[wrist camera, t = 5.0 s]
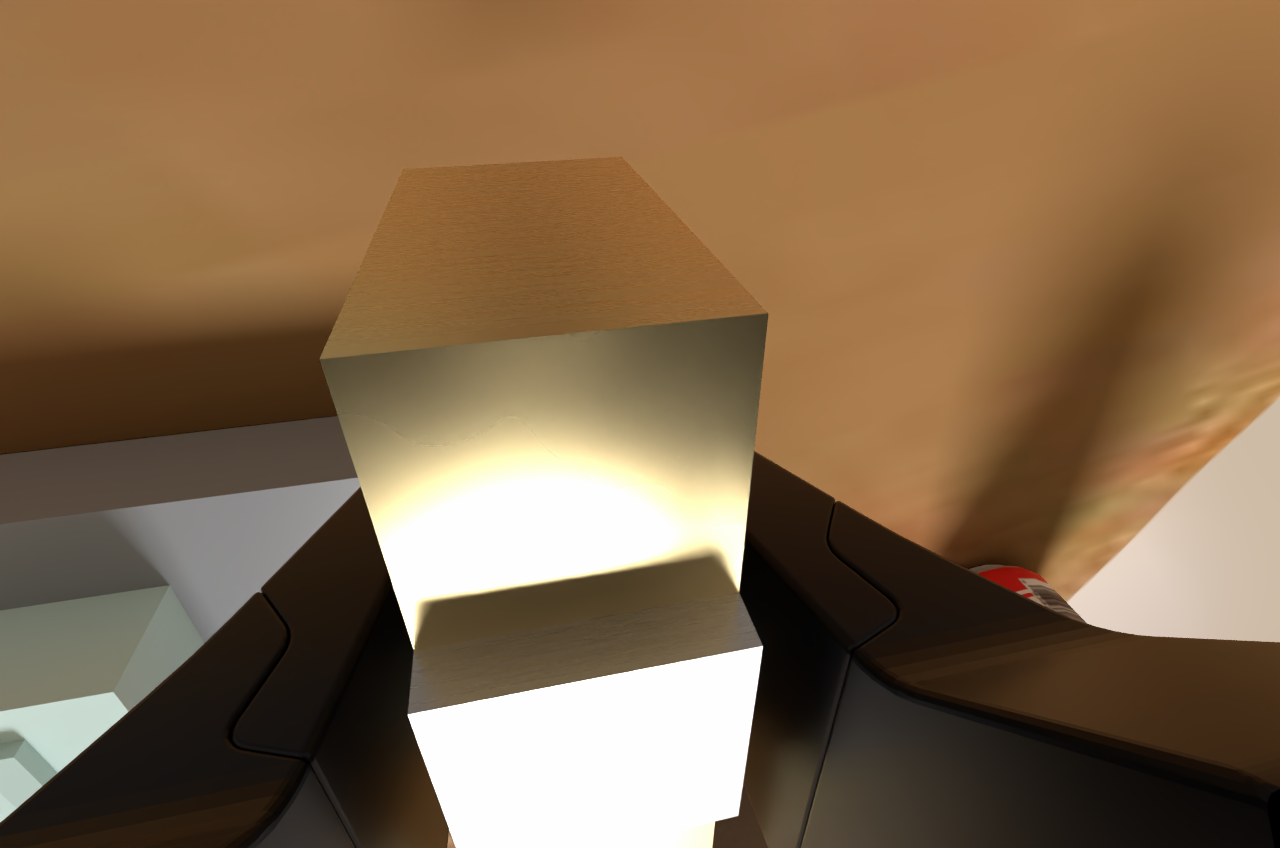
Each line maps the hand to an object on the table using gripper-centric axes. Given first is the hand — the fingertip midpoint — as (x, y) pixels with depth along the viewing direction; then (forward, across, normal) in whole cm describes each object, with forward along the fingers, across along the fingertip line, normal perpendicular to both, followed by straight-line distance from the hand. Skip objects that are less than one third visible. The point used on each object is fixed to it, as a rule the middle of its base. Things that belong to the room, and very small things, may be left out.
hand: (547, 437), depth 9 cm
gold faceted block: (0, 0, 0) cm, 0 cm away
